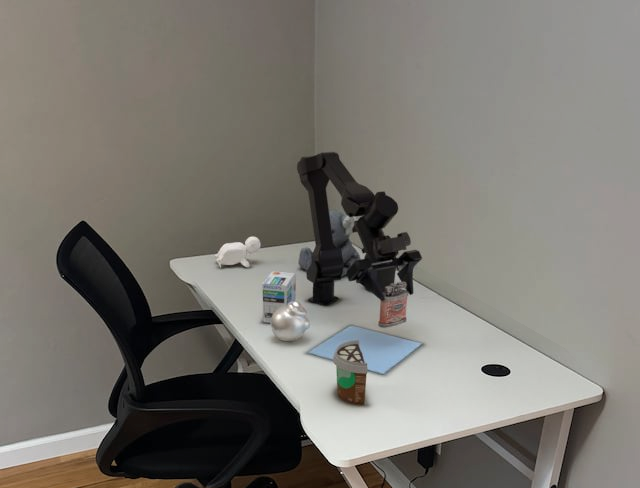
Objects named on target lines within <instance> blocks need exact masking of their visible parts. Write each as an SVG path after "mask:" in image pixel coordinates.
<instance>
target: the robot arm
mask: <svg viewBox="0 0 640 488" xmlns="http://www.w3.org/2000/svg"><path fill="white" fill-rule="evenodd" d="M296 171H297V173H298V176H299V181H300V183H301V185H302V186H303V188H305V190H306V191H307V195H308V201H309V208H310V214H311V221H312V222H311V223H312V229H313V236H314V243H315V245H314V246H315V247H314V249H313V251H312V252H313V254H312V256H311V258H312V264H311V265H310V266H309V268H308V269H307V270H305V274H306V279H307V280H308V281H309V282H311V283H312V296H311V297H309V298H308V299H307V301H308V302H311V303H315V304H319V305H324V306H329V305H331V304H332V303H334V302H336V301H338V300H339V296H336V295H335V281H340V280H342V277H343V276H342V273H343V269H344V262H343V258H342V250H341V249H340V248H337V247H336V246H335V244H334V243H333V236H332V229H331V222H330V215H329V210H330V208H329V201H328V193H327V187H328V184H329V182H331V184H332V185H333V186H334V188H335V189H336V190H337V192H338V193H339V195H340V197H341V201H340V205H341V207H342V209H343V212H344V214H346V215H347V216H348V217H356V218H357V217H359V218H357V221H354V226H353V228H352V232H353V233H357V235H358V237H359V240H360V242H361V245H362V247H363V248H361V252H362V255H363V254H365V255H366V254H367V256H368V258H366V259H364V258H360V260H355V261H354V262H353V263H352V265H351V266H350V267H349V268H348V269H347V272H346V275H345V276H346V278H347V280H348V282H356V284H360V285H361V286H363V287H364V288H365V287H366V288H367V289H368V290H370V291H369V292H371V293H372V294H373V295H374V296H375V297H376V298H377V299H378V300H380V302H381V301H384V300H385V297H384V294H385V292H384V293H383V291H382V288H381V286H380V284H379V281H378V279H377V270H381V269H386V268H391V267H396V270H397V271H398V272H397V273H396V276H397V277H398V279H399V281H400V282H406V288H404V290H407V291H408V292H409V293H408V295H409V296H411V295H413V294H414V278H413V277H414V276H413V275H414V268H415V267H416V266H417V265H418V263H420V262H421V261H422V260H423V257H422V254H421V252H420V251H419V250H417V249H411V250H407V247H408V246H411V244H412V241H411V236H410V234H409V233H408V231H404V232H400V233H397V234H396V236H394V237H391V236H390V235H389V234H388V235H386V234H385V232H384V230H383V229H385V228H387V226H388V225H389V224H390V222H391V221H392V220H393V219H394V217H396V215H397V213H398V212H399V205H398V203H397V201H395V199H394V198H393V197H391V196H389V195H387V193H386V191H385V190H384V191H377V192H375V193H374V192H373V191H372V190H371V189H370V188H368V186H365V185H363V184H360V183H359V182H357V181H356V179H355V178H354V177H353V176H352V175H353V174H351V172H350V171H349V170H348V168H347V167H346V166H345V164H344V162H342V160H341V159H340V155H339V153H338V152H335V151H325V152H323V151H322V152H319V153H317V154H316V155H309V156H302V157H301V158H300V159H299V161H298V162H297V164H296ZM353 233H352V234H353ZM399 251H403V253H401V254H400V255H399ZM398 255H399V257H397V256H398ZM394 256H396V258H395V259H394ZM366 288H365V289H366ZM367 289H366V290H367ZM368 290H367V291H368Z"/></svg>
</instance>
